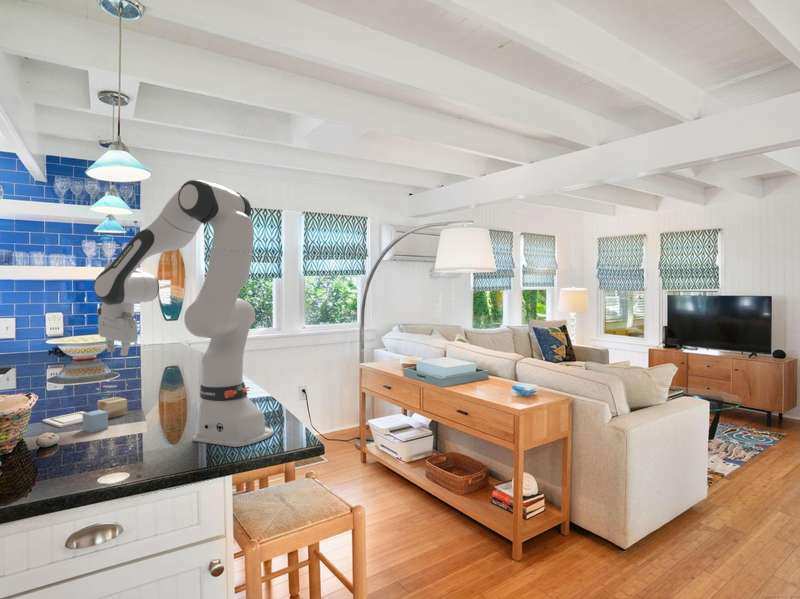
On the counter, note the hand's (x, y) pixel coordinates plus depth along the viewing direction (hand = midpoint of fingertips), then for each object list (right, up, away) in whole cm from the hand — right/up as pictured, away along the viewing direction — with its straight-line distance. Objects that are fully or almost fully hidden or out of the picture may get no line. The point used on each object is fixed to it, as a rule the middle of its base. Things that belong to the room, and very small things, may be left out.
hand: (117, 353), depth 148 cm
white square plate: (-11, -20, -6) cm, 23 cm away
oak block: (-2, -20, 0) cm, 20 cm away
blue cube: (+3, -21, -15) cm, 25 cm away
